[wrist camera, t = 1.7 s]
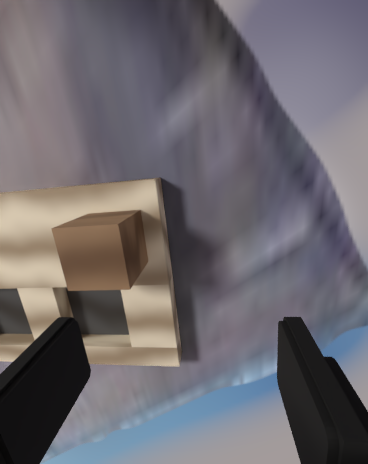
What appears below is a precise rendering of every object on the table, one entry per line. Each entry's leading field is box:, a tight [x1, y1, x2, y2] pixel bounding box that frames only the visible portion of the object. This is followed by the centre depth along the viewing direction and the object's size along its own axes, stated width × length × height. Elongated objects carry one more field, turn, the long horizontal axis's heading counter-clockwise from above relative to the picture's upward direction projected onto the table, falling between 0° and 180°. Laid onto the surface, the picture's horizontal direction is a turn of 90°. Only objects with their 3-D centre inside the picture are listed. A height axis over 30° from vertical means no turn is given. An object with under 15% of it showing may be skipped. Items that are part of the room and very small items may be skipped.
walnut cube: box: [51, 210, 149, 291], centre depth 22 cm, size 6×6×6 cm
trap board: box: [0, 178, 182, 366], centre depth 30 cm, size 24×38×2 cm, turn 96°
